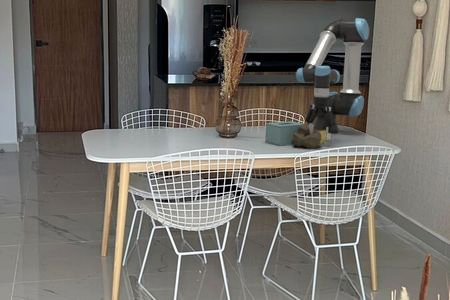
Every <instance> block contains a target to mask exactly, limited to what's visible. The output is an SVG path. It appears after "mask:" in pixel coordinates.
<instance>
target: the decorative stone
mask: <svg viewBox="0 0 450 300" xmlns="http://www.w3.org/2000/svg"><path fill="white" fill-rule="evenodd" d="M293 137H294V139H293V140H292V141H291V143H292V146H294V147H303V146H304V147H305V148H307V149H317V148H319V145H320V144H319V143H320V141H321V137H322V136H321V133H320V132H319V131H318V130H316V129H315V130H314V131H313V132H312V133H310V129H309V127H308V124H305V125H301V126H299V127H298V133H294V135H293Z"/></svg>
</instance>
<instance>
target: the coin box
mask: <svg viewBox="0 0 450 300" xmlns="http://www.w3.org/2000/svg"><path fill="white" fill-rule="evenodd" d="M301 125H306V124H305V123H301V122H296V121H289V120H287V121H277V122H265V140H264V141H265V143H267V144H270V145H274V146H278V147H279V146H281V147H283V146H291V145H292V143H291V141H292V140H293V139H294V137H293V135H294V133H298V127H299V126H301ZM292 146H293V145H292Z"/></svg>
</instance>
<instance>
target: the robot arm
mask: <svg viewBox="0 0 450 300" xmlns="http://www.w3.org/2000/svg"><path fill="white" fill-rule="evenodd" d="M369 35H370V27H369V24H368V22H367V20H366V19H365V18H359V17H356V18H355V17H354V18H352V17H351V18H336V19H334V20H332V21H330V22H329V23H328V24H326V26H324V28H323V29H322V30H321V31H320V34H319V39H318V41H317V43H316V45H315V46H314V49H313V50H312V52H311V54H310V56H309V58H308V59H307V62H306V63H305V65H304V67H300V68H298V69H297V70H296V75H295V76H296V81H298V83H304V84H314V87H313V88H314V90H313V91H314V92H313V95H314V97H313V104H310V105H309V110H308V113H307V115H306V118H305V122H307V126H308V127H309V129H310V133H312V132H313V131H314V130H315V129H316V130H326V139H325V141H326V140H327V141H328V140H329V141H330V140H331V139H332V134H339V131H340V128H339V125H338V121H337V116H343V117H344V116H347V117H358V116H360V115H361V113H362V111H363V109H364V105H365V98H364V96H362V95H361V94H362V92H361V91H360V89H359V87H360V85H359V84H360V72H361V60H362V59H361V56H362V55H361V54H362V47H363V45H364V44H365V41H367V40H368V39H369ZM338 40H342V42H343V44H344V46H345V52H344V54H345V55H344V67H343V80H342V82H343V83H342V89H341V90H340V91H339V92H337V91H330V85H334V84H337V83H338V82H339V81H340V77H341V75H340V72H339V71H338V70H337V69H331V67H330V66H329V65H322V64H323V63H324V61H325V59H326V57H327V55H328V53H329V51H330V49H331V47H332V45H334V44H335V43H336V42H337V41H338ZM338 93H339V94H338Z"/></svg>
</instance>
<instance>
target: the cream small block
mask: <svg viewBox="0 0 450 300" xmlns="http://www.w3.org/2000/svg"><path fill="white" fill-rule="evenodd" d="M318 131H319V132H320V133H321V136H322V137H321V141H320V143H319V145H326V130H318Z"/></svg>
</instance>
